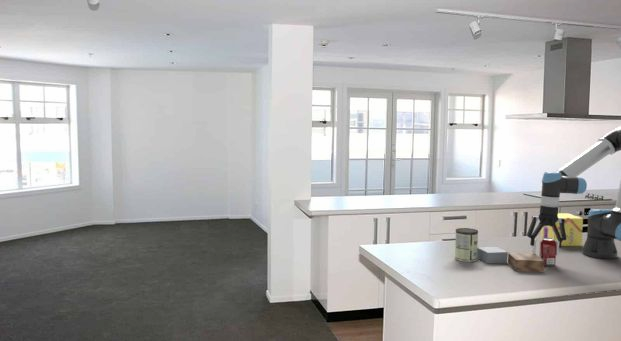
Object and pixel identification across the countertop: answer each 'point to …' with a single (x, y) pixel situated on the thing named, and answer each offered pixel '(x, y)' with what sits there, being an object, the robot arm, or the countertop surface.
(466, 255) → the coffee can
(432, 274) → the countertop surface
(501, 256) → the slate-grey block
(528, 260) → the walnut block
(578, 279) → the countertop surface
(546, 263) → the soda can
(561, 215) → the toy block
